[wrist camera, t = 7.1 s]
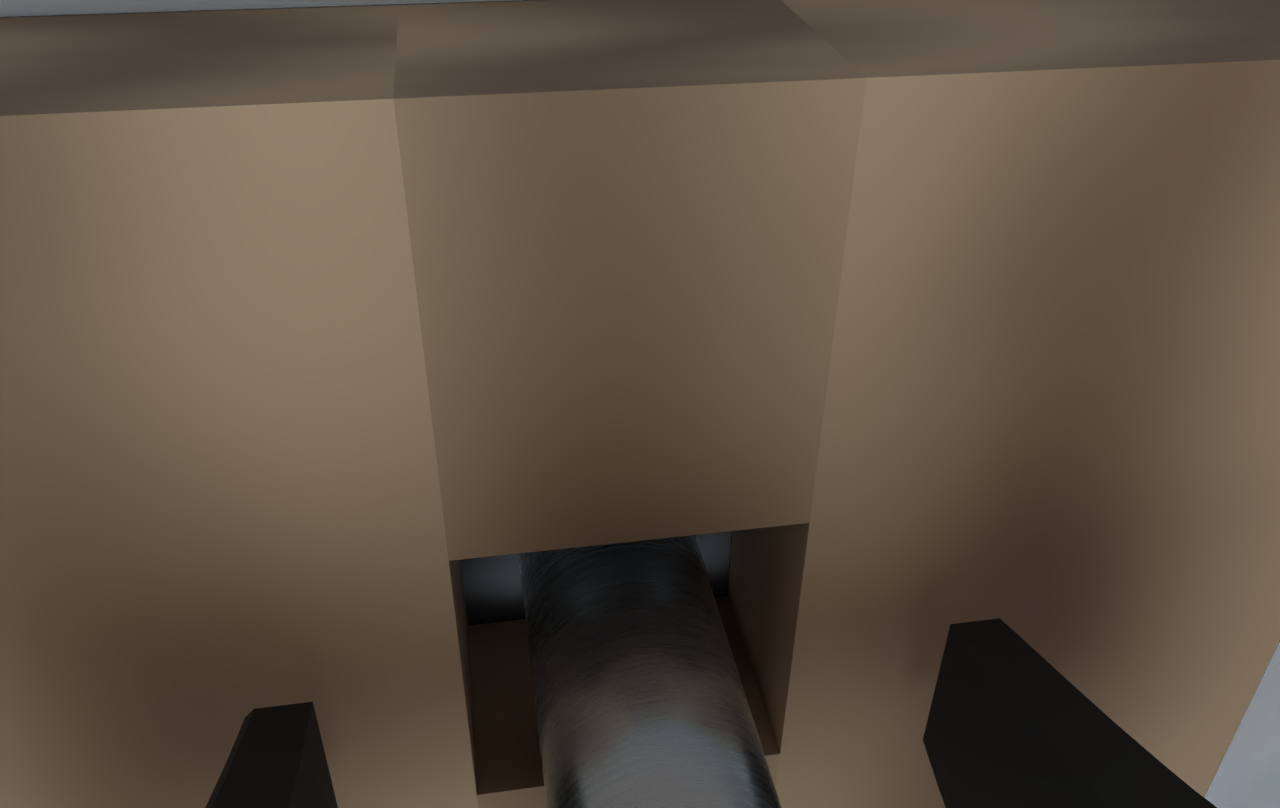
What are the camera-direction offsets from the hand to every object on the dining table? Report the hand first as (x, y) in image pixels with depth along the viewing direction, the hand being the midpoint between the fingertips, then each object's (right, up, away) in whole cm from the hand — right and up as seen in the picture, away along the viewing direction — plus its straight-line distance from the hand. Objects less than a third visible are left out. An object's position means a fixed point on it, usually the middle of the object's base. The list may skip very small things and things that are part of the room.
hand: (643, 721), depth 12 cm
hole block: (-1, +2, +3) cm, 4 cm away
